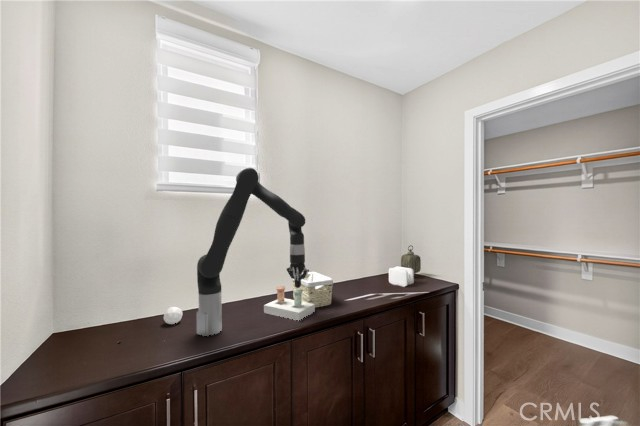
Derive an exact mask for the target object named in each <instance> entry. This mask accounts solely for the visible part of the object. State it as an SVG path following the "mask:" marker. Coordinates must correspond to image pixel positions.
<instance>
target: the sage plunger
mask: <svg viewBox="0 0 640 426" xmlns="http://www.w3.org/2000/svg"><path fill="white" fill-rule="evenodd" d="M292 292H293V293H294V296H293V300H294V305H296V306H299V305H302V294H301V293H302V290H301V289H295V290H293V289H292ZM293 293H292V294H293Z"/></svg>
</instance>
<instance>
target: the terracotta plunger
mask: <svg viewBox="0 0 640 426" xmlns="http://www.w3.org/2000/svg"><path fill="white" fill-rule="evenodd" d="M275 289H276V293H277V294H276V295H277V298H276V299H278V302H284V298H285V291H286V286H284V285H283V286H276V288H275Z"/></svg>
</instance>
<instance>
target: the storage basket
mask: <svg viewBox="0 0 640 426" xmlns="http://www.w3.org/2000/svg"><path fill="white" fill-rule="evenodd" d="M302 274H303V272H302ZM291 281H292V291H293V290H295V289H301V290H302V293H301V294H302V302H307V303H312V304H315V309H316V308H320V307H321V308H322V307H324V306H325V307H326V306H330V305H331V304H332V299H333V298H332V294H333V285H334V280H333V278H331V277H330V276H326V275H325V274H321V273H319V272H316V271H311V272H310V271H309V272H308V274H307V275H306V276H305V278H304V279H302V280H301V286H300V287H299V288H296V287H295V280H294V279H292V278H291ZM292 296H293V297H294V293H292Z"/></svg>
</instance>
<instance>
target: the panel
mask: <svg viewBox="0 0 640 426" xmlns="http://www.w3.org/2000/svg"><path fill="white" fill-rule="evenodd" d="M315 310H316V308H315V304H312V303H307V302H302V305H299V306H296V305H294V299H291V298H286V297H284V302H278V298H276V299H275V300H273V301H270V302H268V303H266V304H264V305H263V313H264V314H268V315H271V316H276V317H279V316H280V318H283V317H284V319H287V318H289V319H288V320H292V319H293V321H296V320H298V321H297V322H300V321H302V320H304V319H305V318H307V317H309V316H311V315H312V314H314V313H315ZM313 312H314V313H313ZM308 315H309V316H308ZM306 316H307V317H306ZM304 317H305V318H304ZM303 318H304V319H303ZM301 319H302V320H301ZM299 320H300V321H299Z"/></svg>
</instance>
